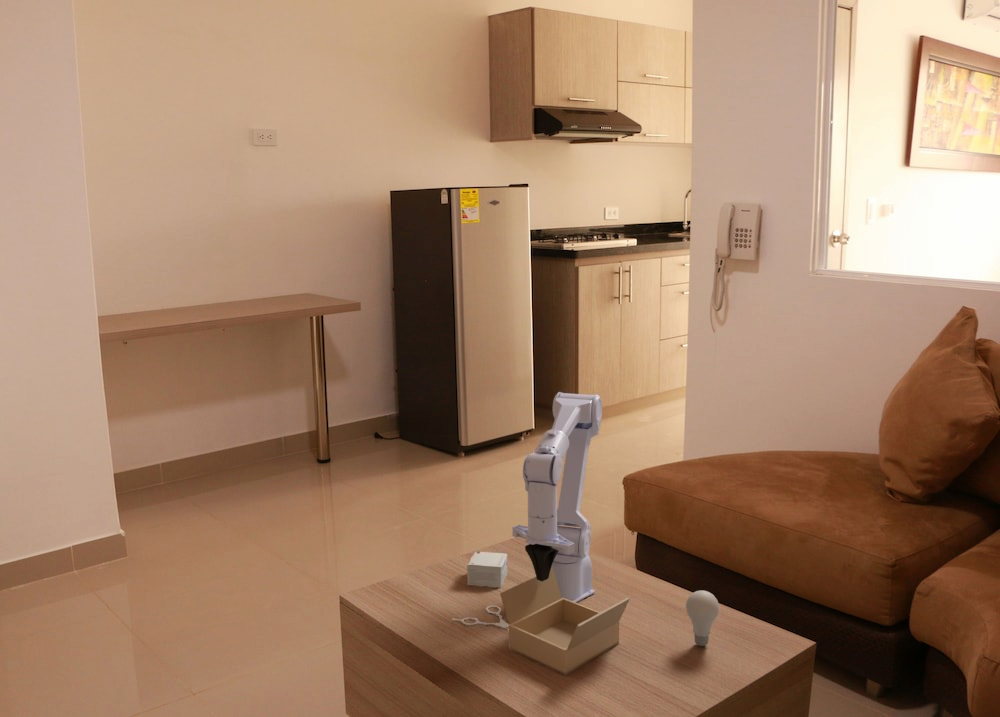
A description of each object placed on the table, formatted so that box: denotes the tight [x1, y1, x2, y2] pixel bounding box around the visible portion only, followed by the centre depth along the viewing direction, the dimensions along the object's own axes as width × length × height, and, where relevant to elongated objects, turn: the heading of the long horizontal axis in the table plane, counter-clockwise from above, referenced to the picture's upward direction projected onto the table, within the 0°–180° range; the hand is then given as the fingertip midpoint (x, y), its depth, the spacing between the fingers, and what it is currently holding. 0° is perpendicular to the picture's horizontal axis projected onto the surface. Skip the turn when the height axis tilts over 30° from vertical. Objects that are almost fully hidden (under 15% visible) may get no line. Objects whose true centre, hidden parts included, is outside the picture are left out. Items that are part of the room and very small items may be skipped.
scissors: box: [451, 605, 510, 632], centre depth 180 cm, size 11×1×20 cm
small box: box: [466, 551, 508, 589], centre depth 202 cm, size 8×8×5 cm
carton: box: [508, 598, 620, 677], centre depth 171 cm, size 16×14×5 cm
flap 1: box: [499, 569, 561, 625], centre depth 176 cm, size 15×6×1 cm
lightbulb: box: [685, 589, 720, 648], centre depth 170 cm, size 6×6×11 cm
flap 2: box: [567, 596, 630, 651], centre depth 165 cm, size 15×6×1 cm
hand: (542, 579), depth 177 cm, fingers closed
